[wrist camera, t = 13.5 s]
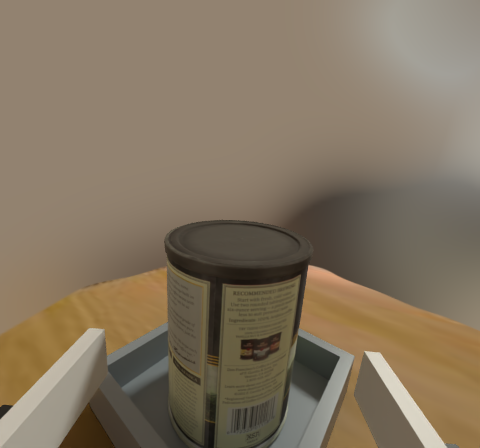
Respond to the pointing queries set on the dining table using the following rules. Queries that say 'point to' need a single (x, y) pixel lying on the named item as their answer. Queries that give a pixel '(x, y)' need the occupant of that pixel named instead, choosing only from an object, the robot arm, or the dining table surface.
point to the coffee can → (232, 329)
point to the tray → (157, 388)
